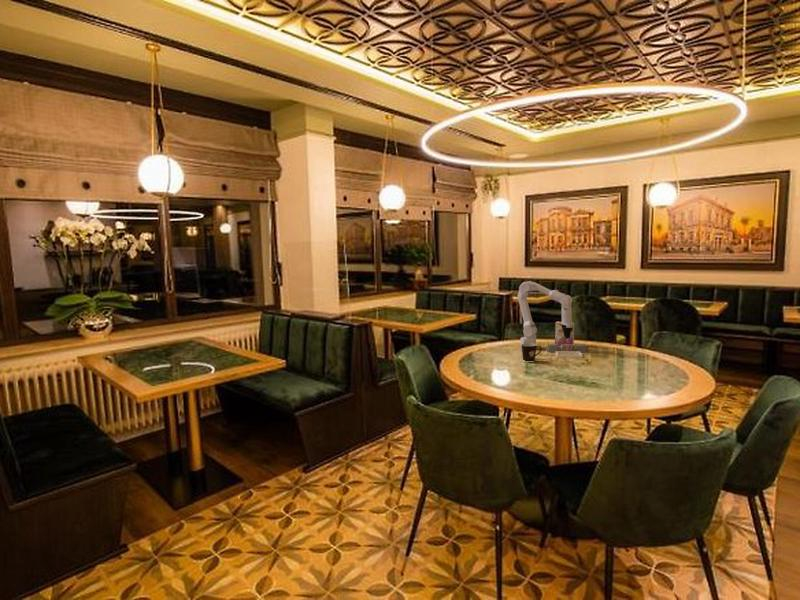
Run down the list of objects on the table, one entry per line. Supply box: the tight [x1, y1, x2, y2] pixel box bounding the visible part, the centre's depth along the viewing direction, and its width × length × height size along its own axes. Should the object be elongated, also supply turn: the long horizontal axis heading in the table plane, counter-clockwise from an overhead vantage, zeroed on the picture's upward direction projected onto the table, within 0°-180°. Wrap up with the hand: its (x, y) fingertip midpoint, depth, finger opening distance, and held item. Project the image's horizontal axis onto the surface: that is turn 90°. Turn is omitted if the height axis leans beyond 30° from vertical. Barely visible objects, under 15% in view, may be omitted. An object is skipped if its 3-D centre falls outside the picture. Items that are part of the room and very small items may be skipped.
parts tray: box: [555, 351, 584, 359], centre depth 277 cm, size 14×10×2 cm
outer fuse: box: [574, 343, 587, 354], centre depth 284 cm, size 6×4×4 cm, turn 77°
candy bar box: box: [554, 321, 575, 347], centre depth 303 cm, size 11×5×16 cm, turn 58°
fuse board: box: [545, 346, 590, 354], centre depth 286 cm, size 25×6×4 cm, turn 77°
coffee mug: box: [521, 343, 543, 361], centre depth 270 cm, size 12×9×10 cm
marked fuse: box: [560, 344, 572, 351], centre depth 286 cm, size 6×4×5 cm
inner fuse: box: [547, 343, 560, 354], centre depth 288 cm, size 6×4×4 cm, turn 77°
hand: (566, 337), depth 285 cm, fingers open, 7 cm apart
